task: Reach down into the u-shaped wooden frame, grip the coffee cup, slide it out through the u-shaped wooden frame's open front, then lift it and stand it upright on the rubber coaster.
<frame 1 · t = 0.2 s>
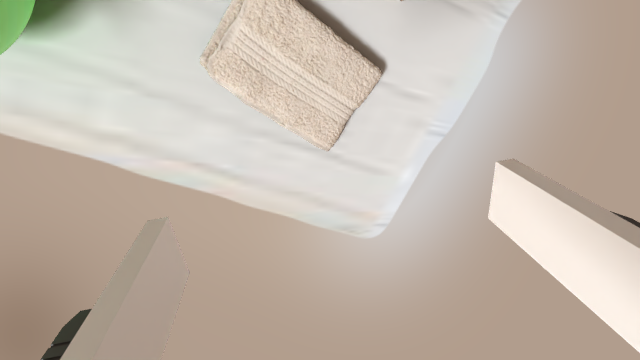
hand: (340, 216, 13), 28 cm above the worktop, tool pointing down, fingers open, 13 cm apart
washcloth: (293, 68, 37), on the worktop
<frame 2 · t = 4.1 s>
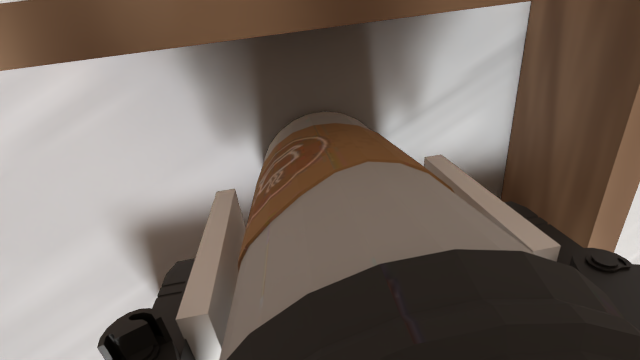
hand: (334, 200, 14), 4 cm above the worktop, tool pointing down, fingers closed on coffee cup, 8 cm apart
u-shaped wooden frame: (322, 166, 18), on the worktop
coffee cup: (321, 165, 18), on the worktop, touching gripper
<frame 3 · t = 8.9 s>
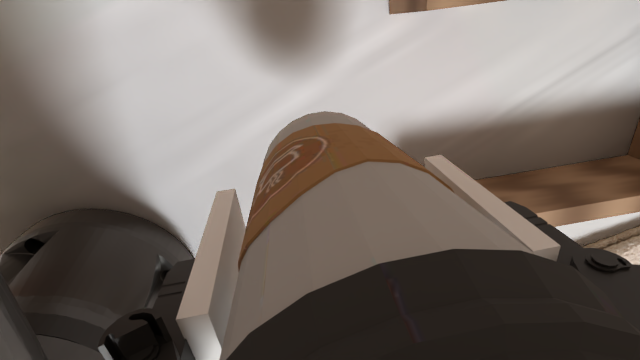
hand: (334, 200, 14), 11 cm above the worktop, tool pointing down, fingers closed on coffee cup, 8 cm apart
washcloth: (574, 279, 37), on the worktop
u-shaped wooden frame: (525, 94, 26), on the worktop
coffee cup: (321, 164, 18), point 7 cm above the worktop, touching gripper
when the fingers open (5 cm above the worktop, at t = 14.2 s): coffee cup stays where it is, resting on coaster.
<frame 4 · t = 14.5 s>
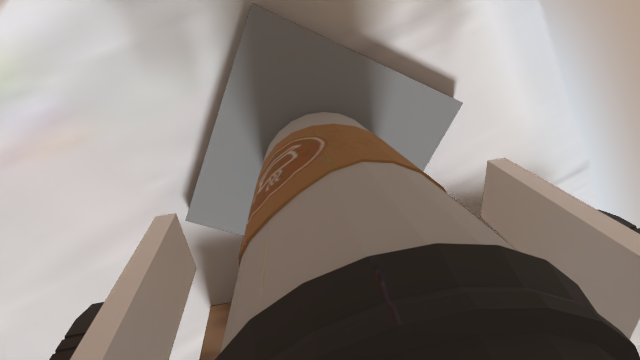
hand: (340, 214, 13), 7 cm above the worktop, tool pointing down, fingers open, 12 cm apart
u-shaped wooden frame: (367, 352, 27), on the worktop
coaster: (318, 156, 19), on the worktop
coffee cup: (320, 163, 18), point 1 cm above the worktop, touching coaster
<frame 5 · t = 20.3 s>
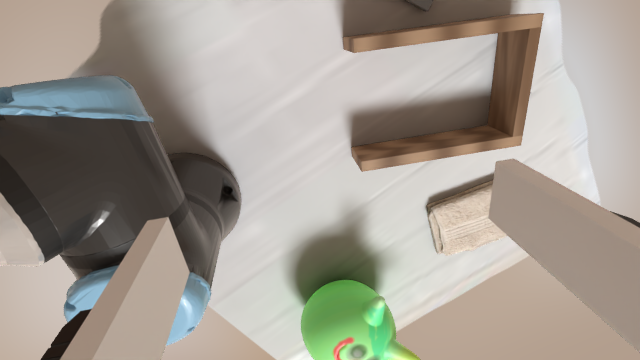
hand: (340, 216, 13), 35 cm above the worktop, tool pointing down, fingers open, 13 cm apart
toy bird: (343, 296, 63), on the worktop
washcloth: (473, 211, 59), on the worktop
u-shaped wooden frame: (421, 90, 47), on the worktop
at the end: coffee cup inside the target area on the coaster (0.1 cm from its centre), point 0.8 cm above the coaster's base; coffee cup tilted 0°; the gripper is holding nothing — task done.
